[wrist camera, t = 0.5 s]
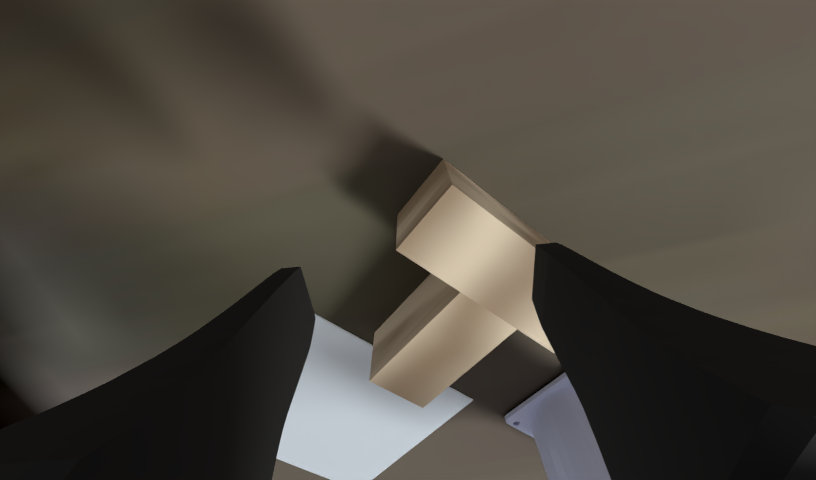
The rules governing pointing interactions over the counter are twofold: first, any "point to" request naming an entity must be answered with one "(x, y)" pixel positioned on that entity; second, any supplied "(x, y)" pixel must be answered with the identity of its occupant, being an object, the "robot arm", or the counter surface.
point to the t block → (456, 287)
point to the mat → (353, 412)
